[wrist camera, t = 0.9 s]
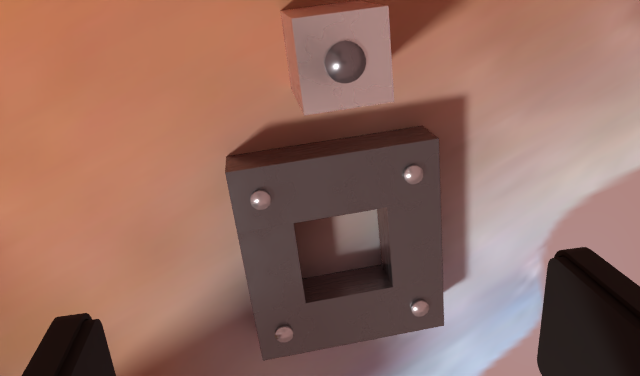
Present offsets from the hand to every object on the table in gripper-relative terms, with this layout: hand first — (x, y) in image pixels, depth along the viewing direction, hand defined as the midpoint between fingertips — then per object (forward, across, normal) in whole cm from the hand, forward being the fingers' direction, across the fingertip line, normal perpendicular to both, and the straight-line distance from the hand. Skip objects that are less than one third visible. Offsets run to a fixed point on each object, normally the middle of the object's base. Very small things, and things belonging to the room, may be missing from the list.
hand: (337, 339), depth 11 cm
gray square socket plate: (+23, -4, +10) cm, 25 cm away
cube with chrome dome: (+23, -3, -3) cm, 24 cm away
